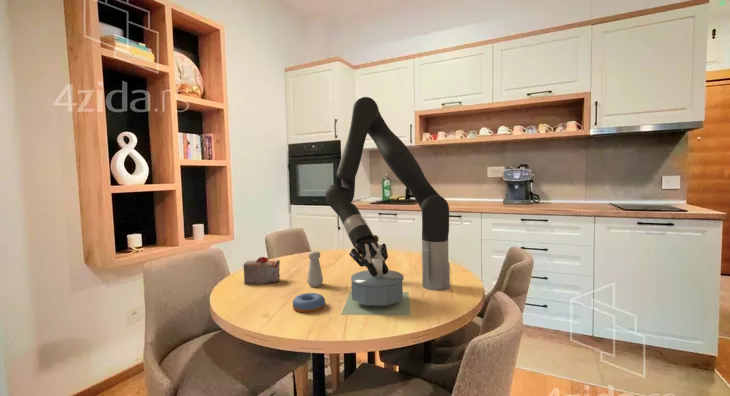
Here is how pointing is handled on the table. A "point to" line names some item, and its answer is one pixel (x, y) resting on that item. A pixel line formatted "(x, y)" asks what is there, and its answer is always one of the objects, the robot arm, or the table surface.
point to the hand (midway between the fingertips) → (381, 273)
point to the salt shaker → (314, 270)
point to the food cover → (377, 286)
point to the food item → (261, 271)
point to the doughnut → (308, 303)
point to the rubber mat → (377, 307)
